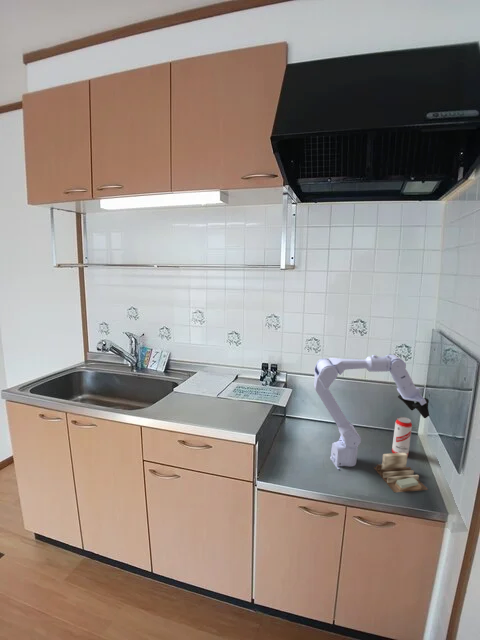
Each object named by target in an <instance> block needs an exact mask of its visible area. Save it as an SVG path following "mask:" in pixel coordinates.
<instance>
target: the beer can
mask: <svg viewBox="0 0 480 640" xmlns="http://www.w3.org/2000/svg"><path fill="white" fill-rule="evenodd" d="M412 428H413V424H412V419H410V418H408V417H406V416H398V417H397V418H396V420H395V422H394V428H393V429H394V430H393V439H392V446H391V447H392V448H391V453H406V454H407V455H408V456H409V452H410V444H411V437H412V430H413V429H412Z"/></svg>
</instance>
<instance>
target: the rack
mask: <svg viewBox="0 0 480 640" xmlns="http://www.w3.org/2000/svg"><path fill="white" fill-rule="evenodd" d="M381 467H382V463H381V464H380V463H379V464H376V466H373V469H374V470H375V471H376V473H377V474H378V475H379V476H380V477H381V478H382V480H383V481H384V482H385V483H386V484H387V486H388V487H389V488H390V489H391V490H392V492H393V493H405V492H406V493H407V492H415V491H429V488H428V487H427V486H426V485H424V483H423V482H422V481H420V479H419V478H420V475H419V474H415V470H414V469H412V468H411V466H406V467H404V468H390V469H381ZM412 477H413V478H414V479H415V480H417V481H418V483H419V484H420V485H421V489H417V490H405V491H400V490H399V489H398V488H397V487H396V485H395V482H397V480H402V479H407V478H412Z"/></svg>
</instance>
